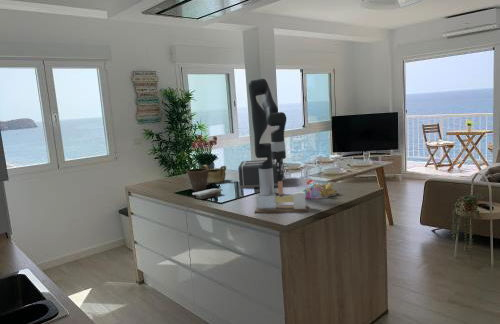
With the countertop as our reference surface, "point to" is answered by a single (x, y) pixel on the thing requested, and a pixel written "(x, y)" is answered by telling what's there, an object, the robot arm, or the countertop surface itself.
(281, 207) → the base board
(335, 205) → the countertop surface
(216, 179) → the woven basket
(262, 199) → the sleeve
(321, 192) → the candy landscape model
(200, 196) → the packaged product
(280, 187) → the sliding latch bolt
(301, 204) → the socket
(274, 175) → the toaster
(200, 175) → the plant pot
